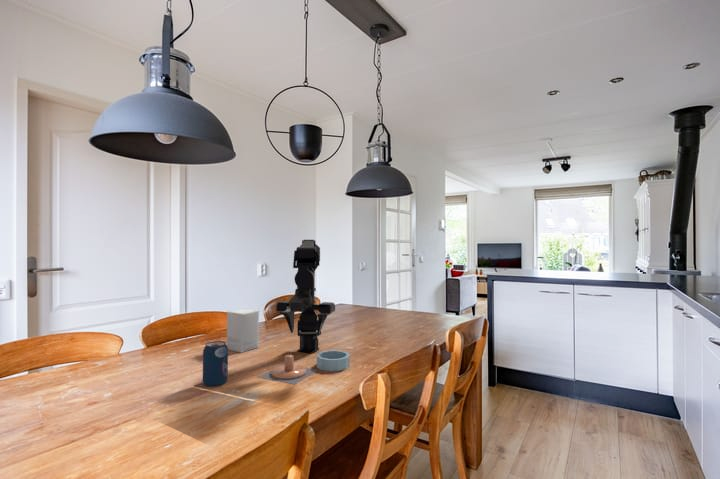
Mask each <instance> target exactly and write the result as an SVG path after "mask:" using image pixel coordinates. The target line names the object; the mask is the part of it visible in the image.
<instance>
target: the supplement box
mask: <svg viewBox="0 0 720 479" xmlns="http://www.w3.org/2000/svg"><path fill="white" fill-rule="evenodd" d="M259 313H260V311H259V310H256V309H255V310H254V309H248V308H247V309H246V308H242V309H236V310H231V311H230V310H229V311H226V345H227V347H228V351H232V352H237V353H245V352H247V351H251V350H255V349H258V348H259V340H260V339H259V338H260V337H259V336H260V335H259V334H260V332H259V329H260V326H259V325H260V324H259V320H260V319H259V318H260V314H259Z"/></svg>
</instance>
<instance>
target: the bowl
mask: <svg viewBox="0 0 720 479" xmlns="http://www.w3.org/2000/svg"><path fill="white" fill-rule="evenodd" d="M350 359H351V356H350V353H349V352H347V351H346V350H345V351H344V350H338V349H337V350H335V349H334V350H325V351H324V350H323V351H321V352H320V351H319V352H318V353H317V354H316V368H317V369H318V370H321V371H325V372H339V371H345V370H347V369H348V368H350V362H351V361H350Z"/></svg>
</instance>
